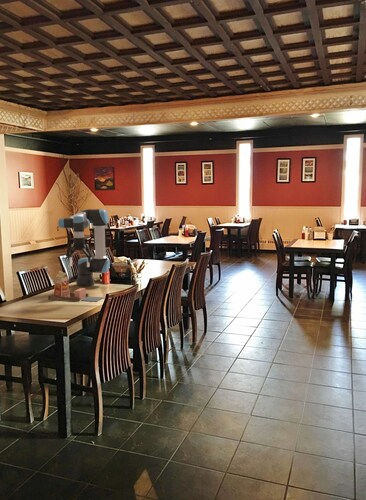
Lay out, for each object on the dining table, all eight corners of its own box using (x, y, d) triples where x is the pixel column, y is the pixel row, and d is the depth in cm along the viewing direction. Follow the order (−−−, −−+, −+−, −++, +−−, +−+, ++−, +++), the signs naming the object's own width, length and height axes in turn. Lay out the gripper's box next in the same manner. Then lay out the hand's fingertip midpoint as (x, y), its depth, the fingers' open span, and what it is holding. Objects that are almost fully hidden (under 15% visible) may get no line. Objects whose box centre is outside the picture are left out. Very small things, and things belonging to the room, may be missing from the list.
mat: (88, 297, 315) (88, 296, 315) (103, 298, 313) (103, 297, 313) (81, 300, 304) (81, 300, 304) (96, 301, 301) (96, 301, 301)
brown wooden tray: (58, 295, 322) (58, 291, 322) (88, 296, 317) (88, 293, 317) (48, 299, 307) (48, 296, 307) (79, 301, 302) (79, 297, 302)
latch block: (80, 297, 316) (80, 288, 315) (85, 297, 315) (85, 288, 314) (74, 300, 306) (74, 290, 305) (79, 300, 305) (79, 291, 304)
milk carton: (53, 298, 311) (52, 271, 309) (62, 295, 319) (61, 269, 317) (62, 299, 307) (61, 272, 305) (71, 297, 315) (70, 270, 313)
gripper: (60, 237, 304) (61, 266, 306) (92, 238, 299) (93, 267, 301) (65, 236, 311) (66, 265, 314) (97, 237, 306) (97, 266, 308)
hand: (79, 266), depth 307 cm, fingers open, 13 cm apart
